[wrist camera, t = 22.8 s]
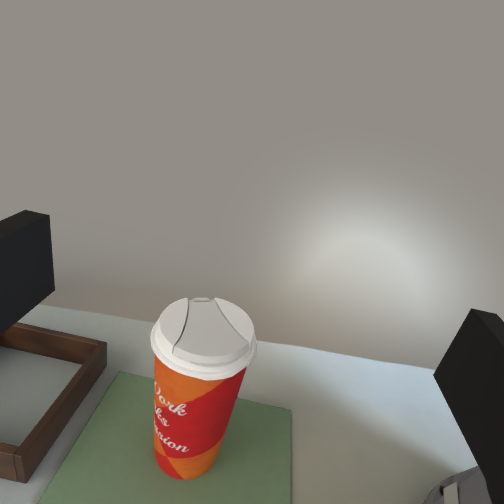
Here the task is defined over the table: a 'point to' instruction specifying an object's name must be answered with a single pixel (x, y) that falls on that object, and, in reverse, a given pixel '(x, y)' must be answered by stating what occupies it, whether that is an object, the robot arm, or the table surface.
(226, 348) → the coffee cup
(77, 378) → the crate
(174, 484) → the mat
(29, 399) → the table surface
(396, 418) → the table surface
